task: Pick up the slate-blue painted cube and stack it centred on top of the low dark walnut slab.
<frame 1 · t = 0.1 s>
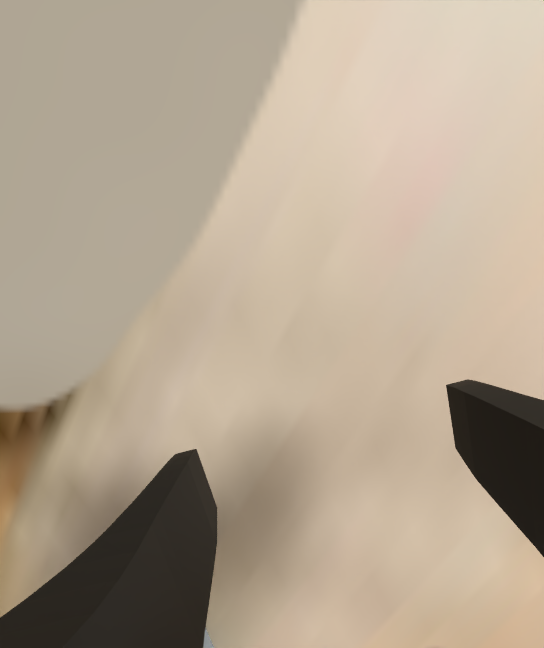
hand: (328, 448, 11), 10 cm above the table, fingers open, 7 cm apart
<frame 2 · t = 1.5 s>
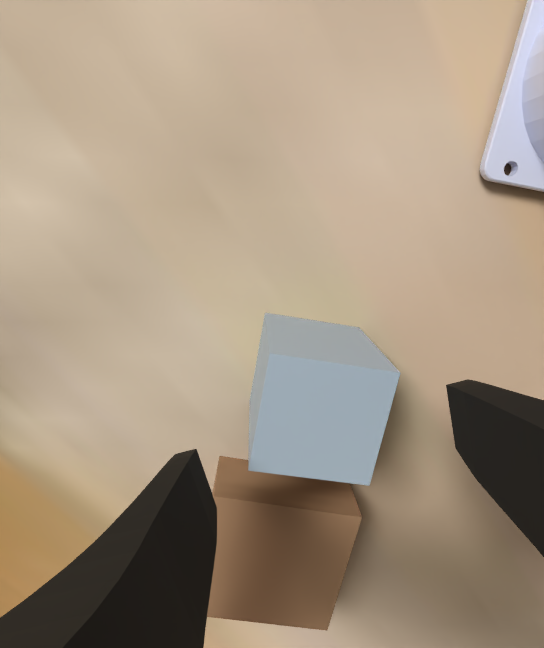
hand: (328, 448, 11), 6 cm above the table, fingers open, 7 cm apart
walnut slab: (271, 515, 20), on the table
slate cube: (303, 364, 17), on the table
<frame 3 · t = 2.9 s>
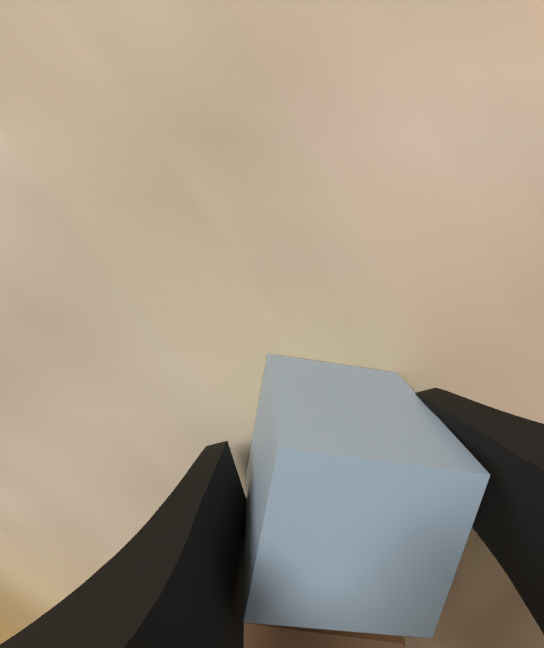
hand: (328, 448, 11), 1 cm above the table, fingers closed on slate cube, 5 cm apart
walnut slab: (274, 611, 15), on the table
slate cube: (319, 422, 13), on the table, touching gripper
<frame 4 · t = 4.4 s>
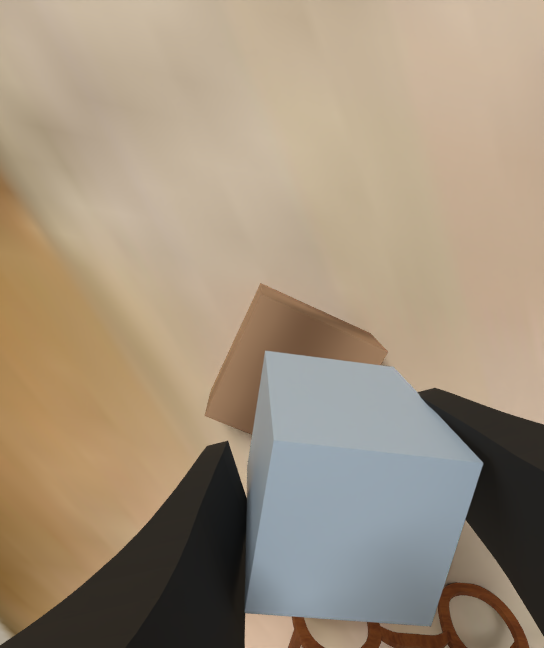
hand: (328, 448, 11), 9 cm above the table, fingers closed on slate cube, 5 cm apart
glasses: (371, 647, 26), on the table
walnut slab: (289, 359, 20), on the table
slate cube: (318, 418, 13), point 7 cm above the table, touching gripper
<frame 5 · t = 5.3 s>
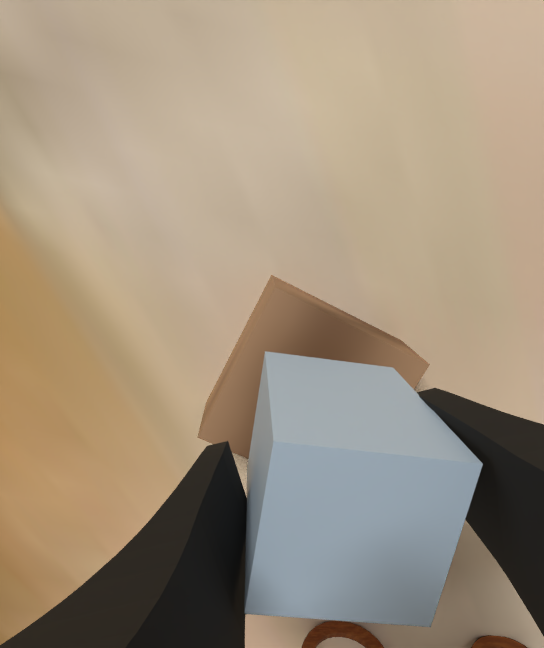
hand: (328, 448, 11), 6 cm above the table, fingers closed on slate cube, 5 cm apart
walnut slab: (302, 369, 17), on the table
slate cube: (318, 418, 13), point 4 cm above the table, touching gripper
when the fingers open (6 cm above the table, at t = 6.0 s): slate cube drops 1 cm, point 3 cm above the table.
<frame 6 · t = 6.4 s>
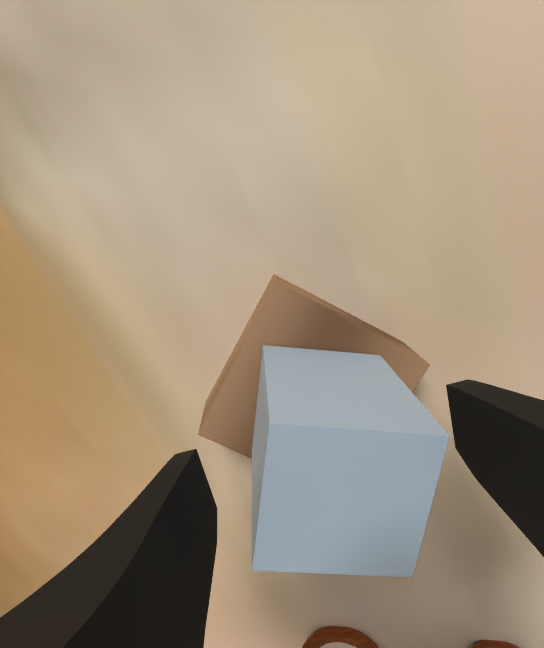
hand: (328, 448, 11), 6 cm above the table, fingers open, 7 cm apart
walnut slab: (302, 368, 17), on the table
slate cube: (314, 403, 14), point 3 cm above the table
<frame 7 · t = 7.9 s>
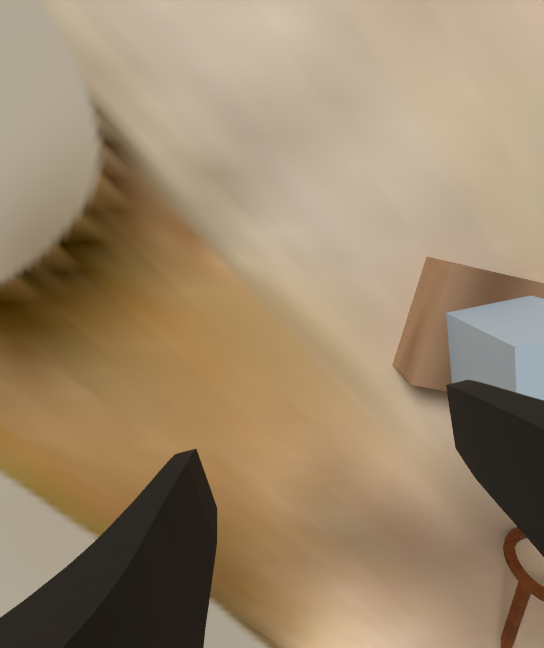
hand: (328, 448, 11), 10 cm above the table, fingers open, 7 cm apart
walnut slab: (458, 322, 22), on the table
slate cube: (490, 344, 19), point 3 cm above the table
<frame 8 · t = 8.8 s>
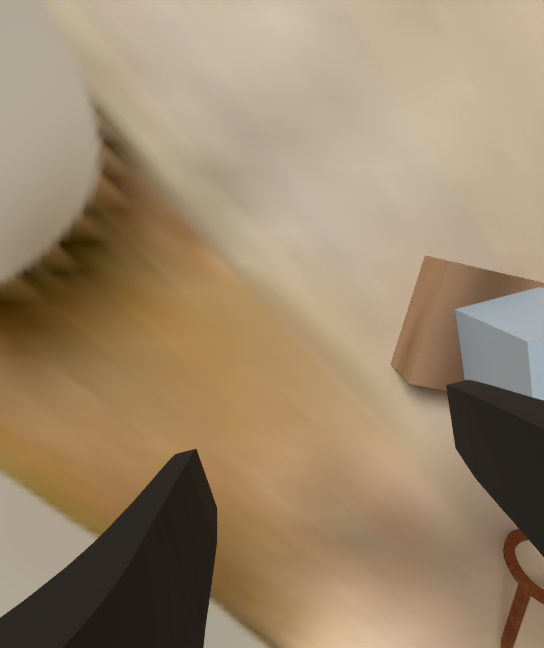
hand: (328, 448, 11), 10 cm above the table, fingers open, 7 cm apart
walnut slab: (456, 321, 22), on the table, touching slate cube
slate cube: (501, 338, 19), point 3 cm above the table, touching walnut slab
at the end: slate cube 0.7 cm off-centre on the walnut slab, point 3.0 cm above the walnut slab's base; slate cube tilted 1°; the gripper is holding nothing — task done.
